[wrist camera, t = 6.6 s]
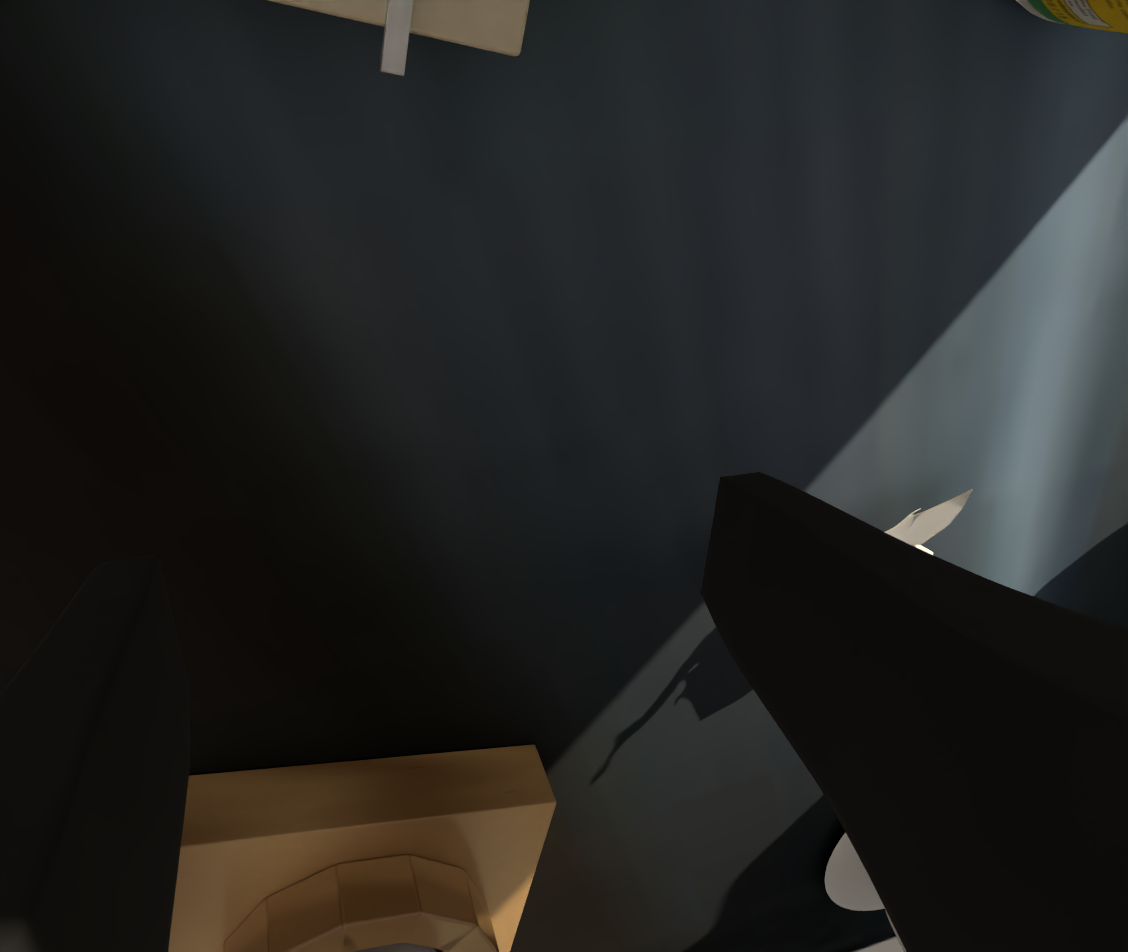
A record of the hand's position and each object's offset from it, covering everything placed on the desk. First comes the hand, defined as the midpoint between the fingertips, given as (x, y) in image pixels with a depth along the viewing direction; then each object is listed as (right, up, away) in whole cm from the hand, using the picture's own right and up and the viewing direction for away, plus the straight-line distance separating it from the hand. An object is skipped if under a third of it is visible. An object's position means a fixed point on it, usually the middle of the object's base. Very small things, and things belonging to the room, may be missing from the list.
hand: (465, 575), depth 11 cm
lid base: (-5, -11, +16) cm, 20 cm away
